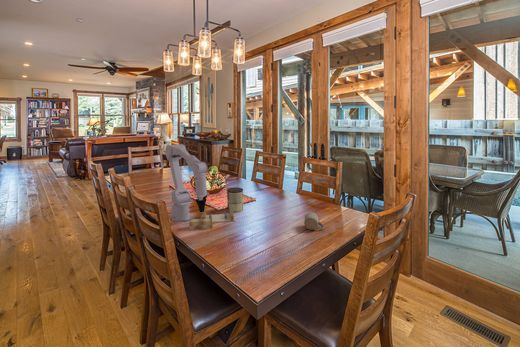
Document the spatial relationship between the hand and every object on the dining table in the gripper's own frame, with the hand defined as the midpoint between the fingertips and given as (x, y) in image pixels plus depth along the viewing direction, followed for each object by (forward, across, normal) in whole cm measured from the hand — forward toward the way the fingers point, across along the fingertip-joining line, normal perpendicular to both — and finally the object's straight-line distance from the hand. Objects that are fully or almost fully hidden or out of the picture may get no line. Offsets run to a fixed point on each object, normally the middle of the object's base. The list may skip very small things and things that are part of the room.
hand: (202, 210), depth 157 cm
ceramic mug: (+12, -9, -59) cm, 61 cm away
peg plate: (+10, +14, -8) cm, 19 cm away
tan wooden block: (+10, 0, +1) cm, 10 cm away
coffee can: (+10, +29, -19) cm, 36 cm away
